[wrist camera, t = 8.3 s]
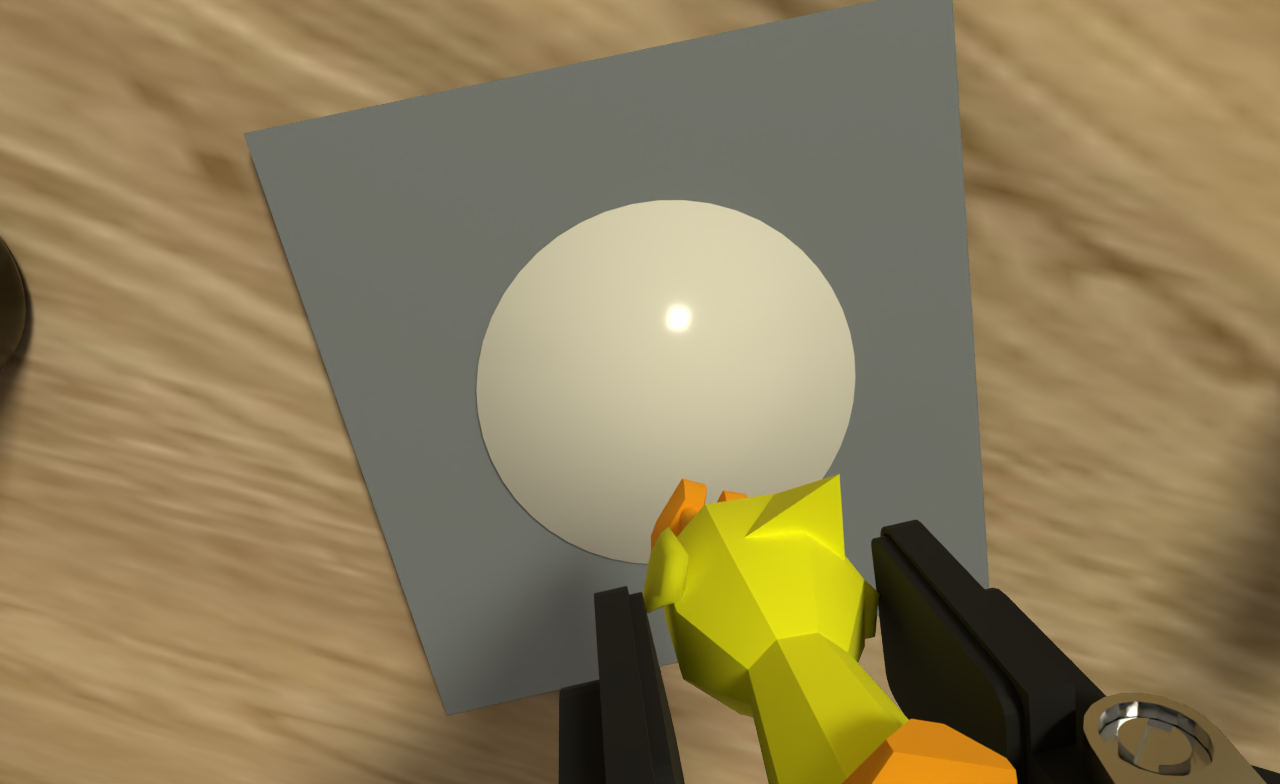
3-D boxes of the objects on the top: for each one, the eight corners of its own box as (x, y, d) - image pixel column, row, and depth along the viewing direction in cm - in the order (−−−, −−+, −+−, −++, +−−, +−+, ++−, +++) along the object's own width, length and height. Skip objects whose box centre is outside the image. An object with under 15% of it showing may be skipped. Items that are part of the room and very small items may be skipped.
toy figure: (723, 688, 17) (1149, 1829, 5) (566, 662, 16) (671, 1935, 5) (831, 405, 15) (1788, 1188, 4) (661, 360, 14) (1202, 1182, 3)
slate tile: (935, -8, 22) (954, -17, 21) (975, 575, 28) (992, 593, 27) (257, 134, 22) (240, 133, 21) (451, 696, 28) (446, 719, 27)
